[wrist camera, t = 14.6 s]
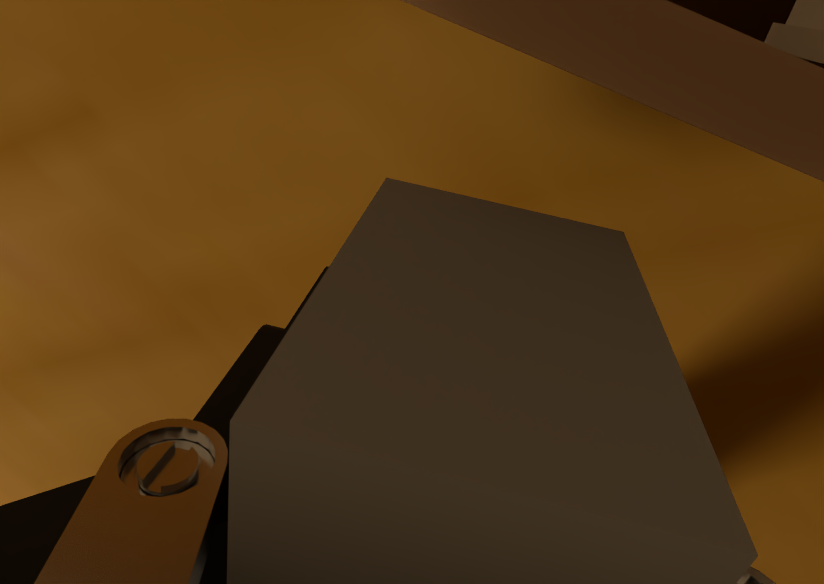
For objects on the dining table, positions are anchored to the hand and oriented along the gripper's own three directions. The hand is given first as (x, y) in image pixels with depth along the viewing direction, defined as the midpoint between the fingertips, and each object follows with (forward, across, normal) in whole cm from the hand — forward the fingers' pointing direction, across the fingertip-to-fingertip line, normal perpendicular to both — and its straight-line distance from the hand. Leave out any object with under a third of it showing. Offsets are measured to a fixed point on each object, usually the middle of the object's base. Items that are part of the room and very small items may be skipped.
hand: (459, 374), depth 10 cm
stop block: (+1, 0, 0) cm, 1 cm away
